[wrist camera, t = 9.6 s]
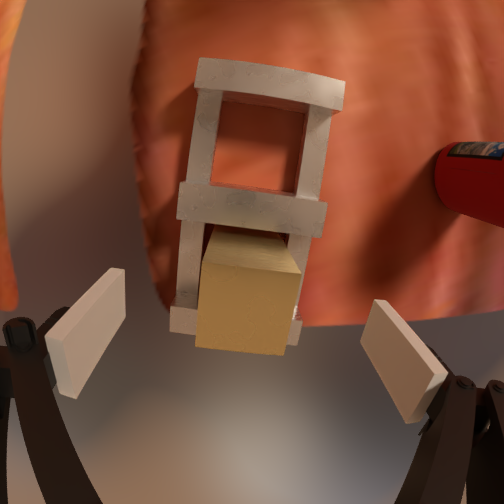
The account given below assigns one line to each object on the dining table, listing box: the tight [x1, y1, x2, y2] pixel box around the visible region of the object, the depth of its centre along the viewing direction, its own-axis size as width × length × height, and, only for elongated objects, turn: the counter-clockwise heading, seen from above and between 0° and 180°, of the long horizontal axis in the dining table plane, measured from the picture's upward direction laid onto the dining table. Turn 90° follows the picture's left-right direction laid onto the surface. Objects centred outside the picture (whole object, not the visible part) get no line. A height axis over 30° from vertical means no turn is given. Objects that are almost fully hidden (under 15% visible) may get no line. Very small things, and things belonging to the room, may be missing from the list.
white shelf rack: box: [170, 57, 345, 345], centre depth 22 cm, size 20×10×4 cm, turn 172°
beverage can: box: [434, 142, 504, 228], centre depth 19 cm, size 7×7×12 cm
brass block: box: [195, 224, 302, 355], centre depth 21 cm, size 5×5×10 cm
